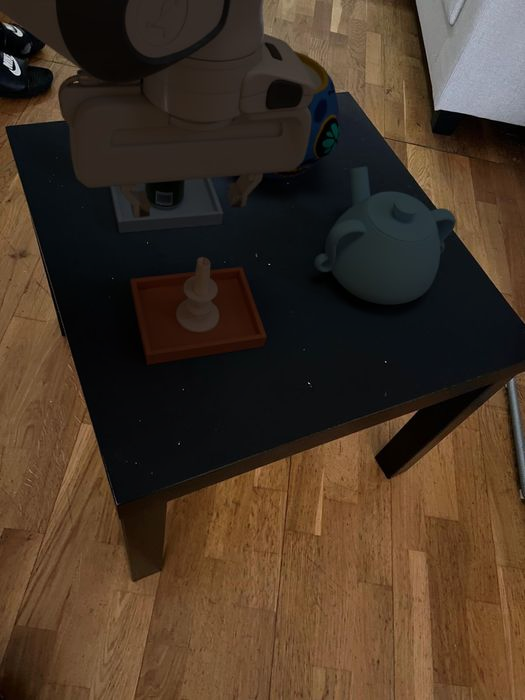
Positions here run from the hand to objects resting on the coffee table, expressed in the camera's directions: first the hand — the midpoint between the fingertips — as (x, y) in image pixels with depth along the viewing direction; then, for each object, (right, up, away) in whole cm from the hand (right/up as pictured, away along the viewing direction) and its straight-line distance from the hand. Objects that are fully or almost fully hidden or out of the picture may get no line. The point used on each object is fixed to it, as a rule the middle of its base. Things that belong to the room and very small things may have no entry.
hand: (189, 207), depth 52 cm
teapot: (+22, -1, +25) cm, 33 cm away
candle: (-1, -10, +14) cm, 17 cm away
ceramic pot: (+8, +16, +34) cm, 38 cm away
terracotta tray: (-1, -10, +14) cm, 17 cm away
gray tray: (-7, +7, +25) cm, 27 cm away
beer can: (-7, +8, +24) cm, 26 cm away
